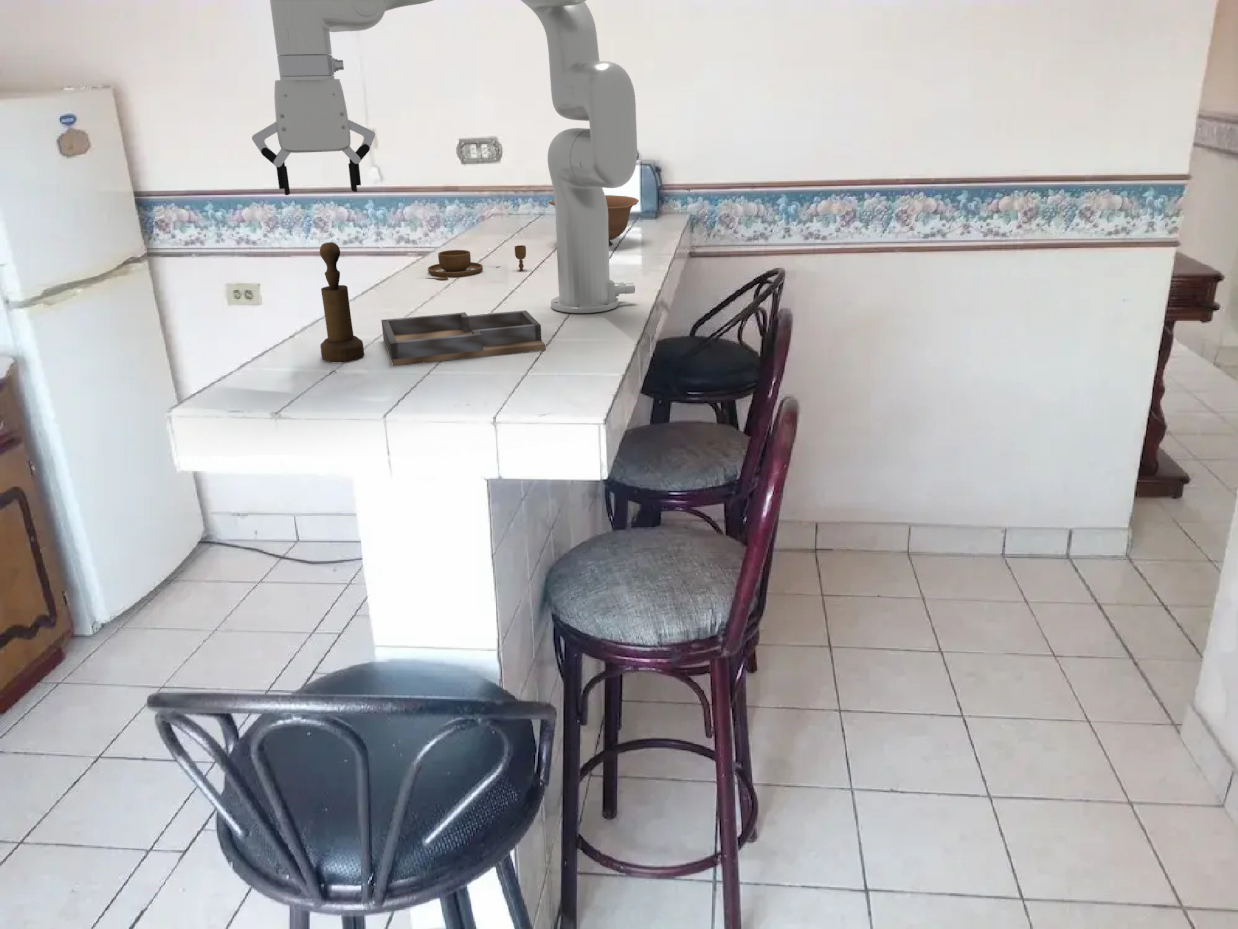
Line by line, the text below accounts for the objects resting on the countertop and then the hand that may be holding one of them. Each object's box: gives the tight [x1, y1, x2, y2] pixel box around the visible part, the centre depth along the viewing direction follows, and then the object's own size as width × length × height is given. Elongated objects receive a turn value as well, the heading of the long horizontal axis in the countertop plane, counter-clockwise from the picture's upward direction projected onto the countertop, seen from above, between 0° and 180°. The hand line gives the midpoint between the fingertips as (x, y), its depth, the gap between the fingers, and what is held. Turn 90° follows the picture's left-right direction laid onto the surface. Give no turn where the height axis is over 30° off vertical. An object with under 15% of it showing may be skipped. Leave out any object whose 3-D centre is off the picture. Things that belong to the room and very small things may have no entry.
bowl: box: [548, 194, 639, 247], centre depth 249 cm, size 22×22×11 cm
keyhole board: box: [380, 310, 546, 367], centre depth 165 cm, size 24×16×4 cm, turn 107°
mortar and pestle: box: [319, 241, 365, 363], centre depth 157 cm, size 7×6×18 cm
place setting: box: [426, 244, 527, 281], centre depth 220 cm, size 18×20×6 cm
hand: (321, 192), depth 151 cm, fingers open, 9 cm apart
